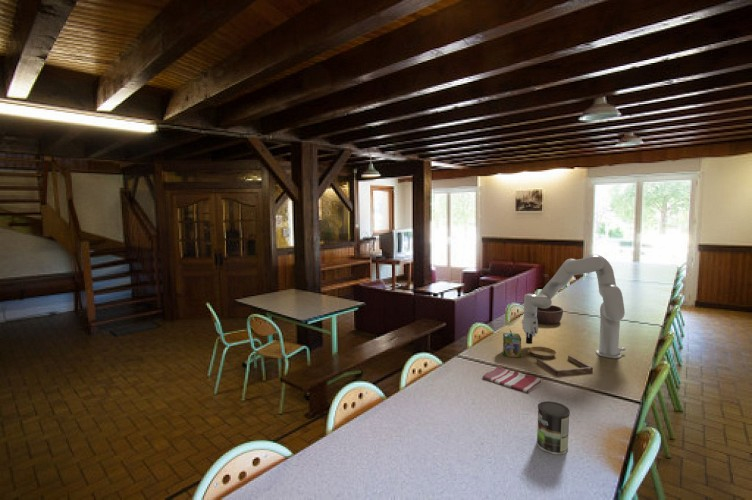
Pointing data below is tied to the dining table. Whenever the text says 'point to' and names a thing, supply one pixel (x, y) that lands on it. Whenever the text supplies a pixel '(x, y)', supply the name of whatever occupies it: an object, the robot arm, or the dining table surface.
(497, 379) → the dish towel
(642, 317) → the dining table surface
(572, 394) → the dining table surface
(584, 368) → the display frame
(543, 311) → the wooden bowl
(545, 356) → the plant saucer
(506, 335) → the chalk box
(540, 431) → the coffee can
